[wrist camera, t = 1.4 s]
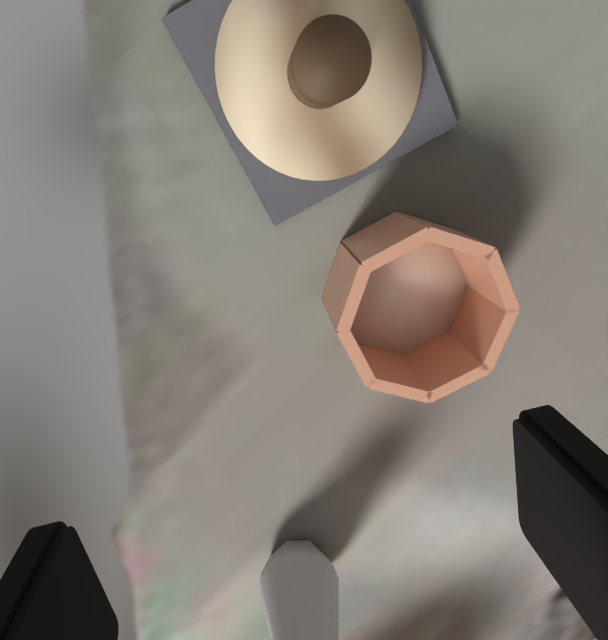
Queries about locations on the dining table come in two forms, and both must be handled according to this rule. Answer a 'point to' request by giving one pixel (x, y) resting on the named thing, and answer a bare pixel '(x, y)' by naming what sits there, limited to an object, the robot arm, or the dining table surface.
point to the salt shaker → (300, 593)
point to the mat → (271, 186)
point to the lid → (318, 81)
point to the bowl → (419, 306)
